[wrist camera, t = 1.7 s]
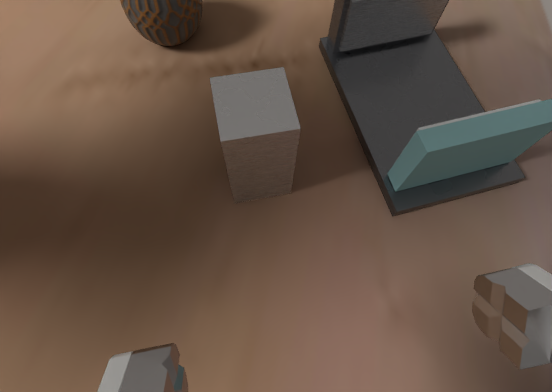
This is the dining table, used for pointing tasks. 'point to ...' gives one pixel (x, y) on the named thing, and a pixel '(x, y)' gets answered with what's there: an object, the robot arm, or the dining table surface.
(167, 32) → the vase
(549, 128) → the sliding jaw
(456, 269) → the dining table surface
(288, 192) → the steel block
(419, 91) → the vise
